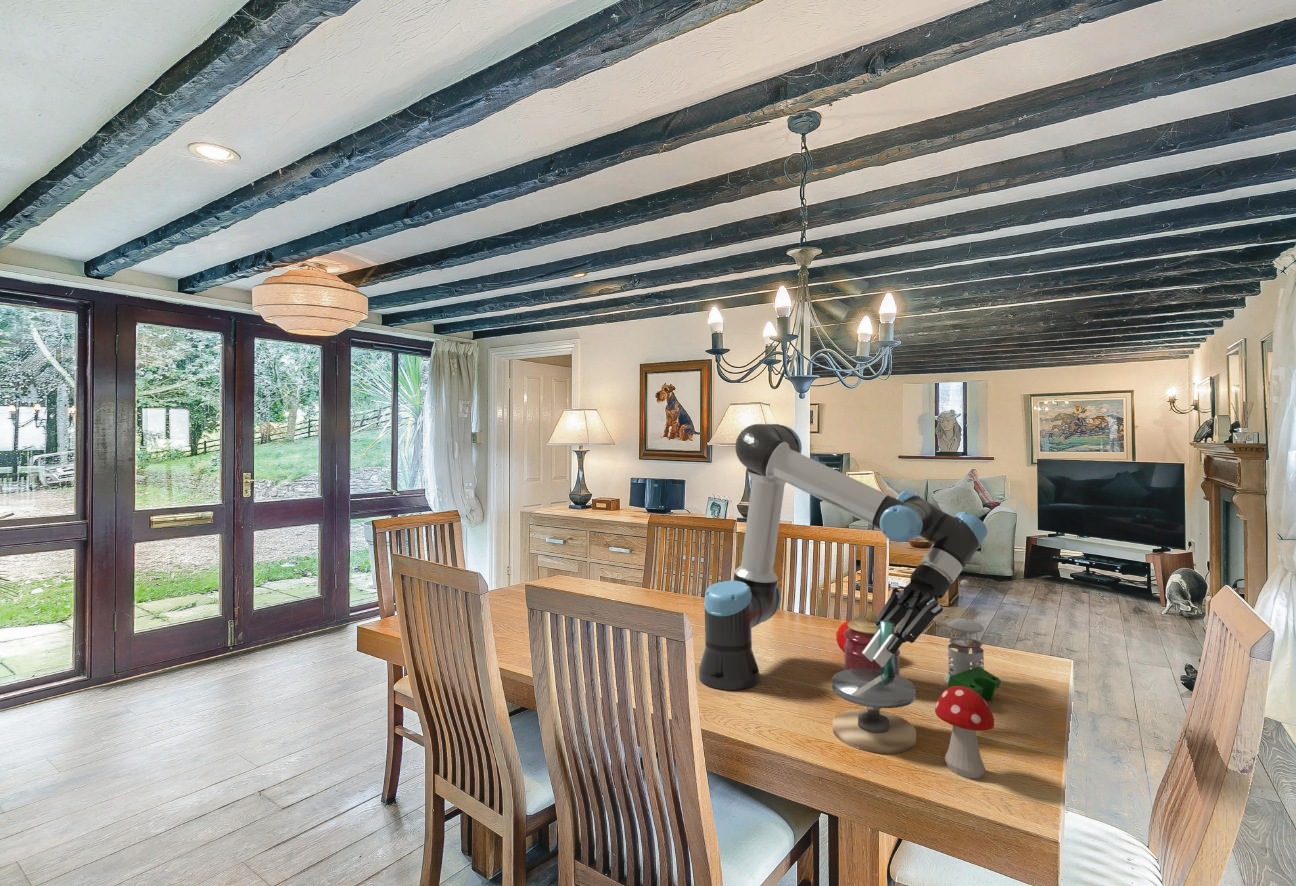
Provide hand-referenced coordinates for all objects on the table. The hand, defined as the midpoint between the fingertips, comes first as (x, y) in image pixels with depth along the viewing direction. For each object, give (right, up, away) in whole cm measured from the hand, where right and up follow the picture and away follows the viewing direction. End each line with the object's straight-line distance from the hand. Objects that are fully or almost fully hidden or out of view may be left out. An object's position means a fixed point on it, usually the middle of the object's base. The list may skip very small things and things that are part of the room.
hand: (872, 659), depth 129 cm
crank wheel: (-1, -10, -4) cm, 11 cm away
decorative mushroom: (+10, -14, -18) cm, 25 cm away
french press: (+32, -13, +23) cm, 41 cm away
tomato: (+11, -14, +40) cm, 43 cm away
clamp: (+28, -14, +12) cm, 33 cm away
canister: (+8, -14, +22) cm, 27 cm away
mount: (-1, -14, -4) cm, 14 cm away
